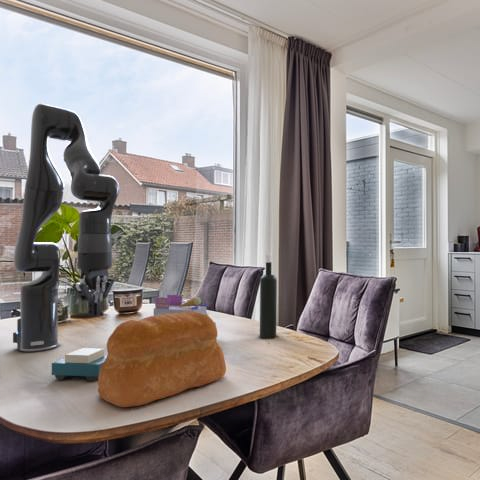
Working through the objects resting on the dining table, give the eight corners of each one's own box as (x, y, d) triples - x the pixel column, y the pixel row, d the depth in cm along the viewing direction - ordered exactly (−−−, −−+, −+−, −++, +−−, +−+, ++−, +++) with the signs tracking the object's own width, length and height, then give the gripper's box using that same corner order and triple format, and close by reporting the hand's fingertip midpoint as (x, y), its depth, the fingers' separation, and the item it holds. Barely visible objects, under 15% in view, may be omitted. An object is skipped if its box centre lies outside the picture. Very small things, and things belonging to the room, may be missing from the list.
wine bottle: (277, 334, 149) (278, 252, 148) (274, 338, 143) (275, 253, 143) (261, 334, 149) (262, 252, 148) (258, 338, 143) (258, 253, 142)
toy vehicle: (202, 345, 134) (203, 299, 133) (150, 341, 138) (150, 297, 137) (218, 338, 143) (218, 295, 142) (168, 334, 147) (168, 293, 146)
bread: (232, 378, 103) (232, 310, 103) (123, 415, 82) (124, 329, 82) (196, 366, 113) (196, 304, 112) (90, 396, 91) (90, 319, 91)
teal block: (72, 370, 108) (51, 380, 101) (73, 347, 108) (51, 355, 101) (116, 372, 107) (98, 381, 100) (116, 348, 107) (98, 356, 100)
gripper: (98, 249, 114) (98, 311, 114) (61, 251, 100) (61, 321, 101) (124, 249, 113) (124, 311, 114) (90, 252, 100) (90, 322, 100)
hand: (94, 316), depth 107 cm, fingers closed
